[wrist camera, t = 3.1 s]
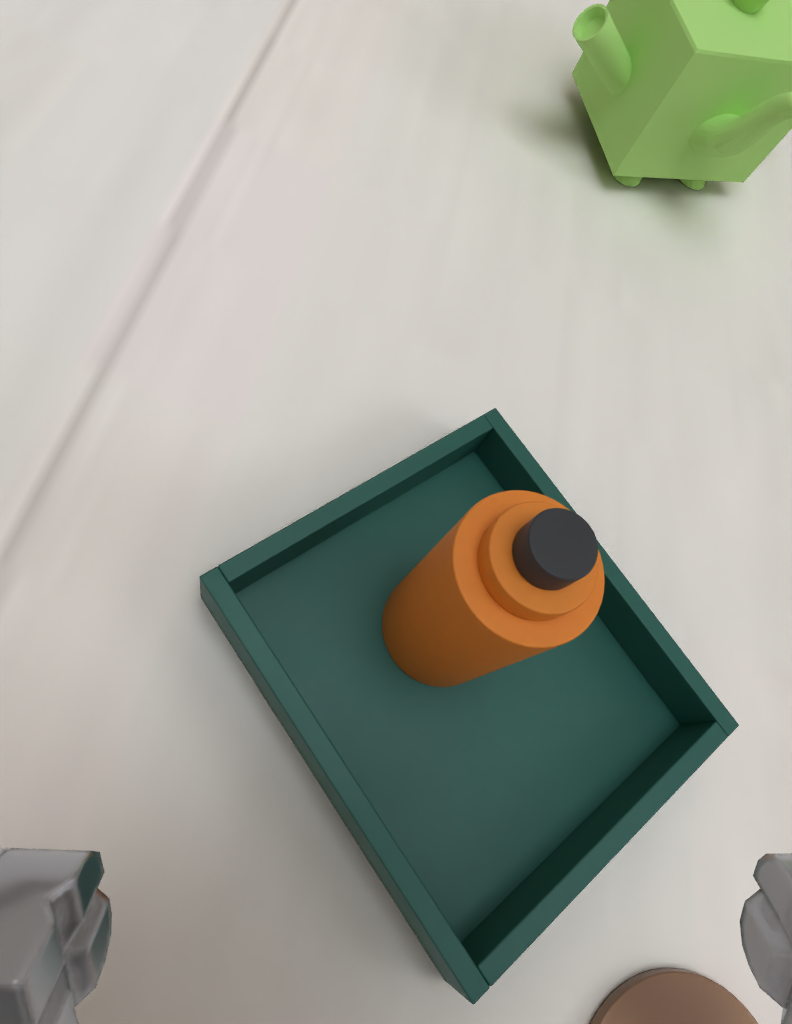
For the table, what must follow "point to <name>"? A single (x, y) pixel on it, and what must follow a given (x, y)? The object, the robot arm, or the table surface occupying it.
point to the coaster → (672, 1001)
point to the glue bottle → (495, 590)
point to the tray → (463, 711)
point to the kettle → (686, 85)
